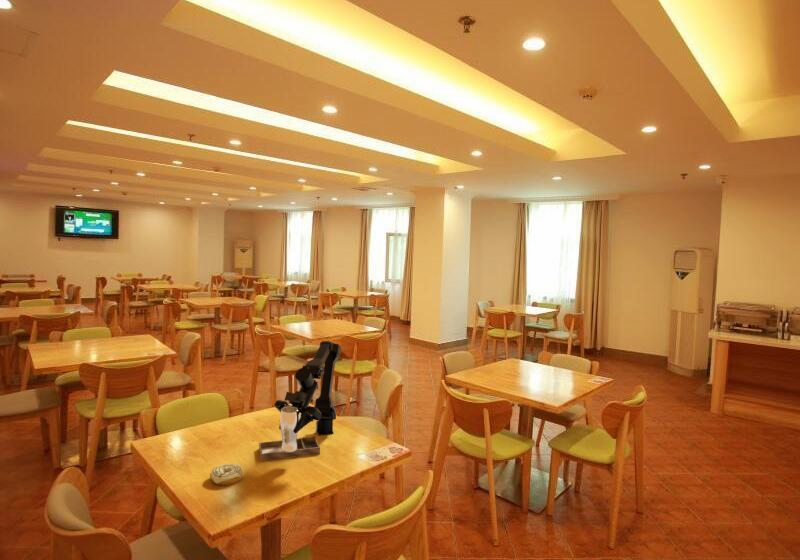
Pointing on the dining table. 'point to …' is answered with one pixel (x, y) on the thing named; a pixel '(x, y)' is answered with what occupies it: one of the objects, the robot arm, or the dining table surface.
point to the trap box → (274, 452)
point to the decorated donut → (226, 474)
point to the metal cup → (289, 428)
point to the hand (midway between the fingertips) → (287, 431)
